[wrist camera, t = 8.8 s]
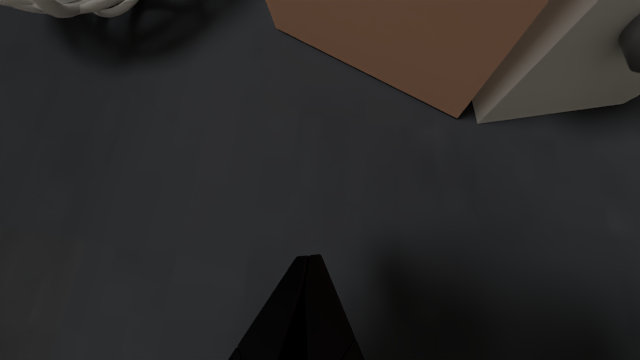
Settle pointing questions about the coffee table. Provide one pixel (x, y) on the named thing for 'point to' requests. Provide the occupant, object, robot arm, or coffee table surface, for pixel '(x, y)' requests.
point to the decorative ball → (72, 7)
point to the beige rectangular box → (567, 62)
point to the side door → (414, 40)
